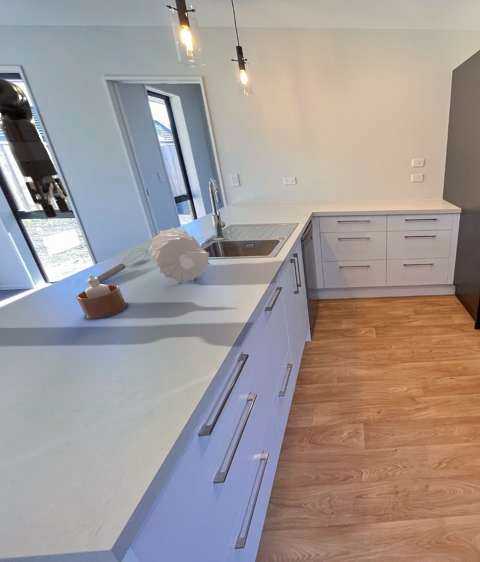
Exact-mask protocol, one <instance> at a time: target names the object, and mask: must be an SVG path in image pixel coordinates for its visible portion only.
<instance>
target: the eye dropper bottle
mask: <svg viewBox="0 0 480 562" xmlns="http://www.w3.org/2000/svg"><path fill="white" fill-rule="evenodd" d="M88 277H89V278H88V279H86V280H87V283H88V285H89V287H87V288H86V289H84V291H85V292H86V295H87V297H88V298H94V297H98V296H102V295H105V294H108V293H110V289H109V287H108V286H107V285H108V284H105V283H99V281H98V278H96V277H95V276H93V274H89V275H88Z"/></svg>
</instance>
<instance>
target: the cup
mask: <svg viewBox="0 0 480 562" xmlns="http://www.w3.org/2000/svg"><path fill="white" fill-rule="evenodd" d="M106 285H107V286H108V287H109V289H110V293H108V294H105V295H102V296H98V297H94V298H88V297H87V295H86V292H85V290H84V291H82V292H80V293H78V294H77V295H76V299H77V302H78V304H79V305H80V308H81V309H82V312H83V313H84V315H85V317H86V318H87V319H90V320H97V319H103V318H106V317H110V316H113V315H116V314H118V313H120V312H122V311H123V310H124V309H126V307H127V303H126V301H125V299H124V296H123V295H122V293H121V292H122V291H121V290H120V287H119V285H116V284H106Z"/></svg>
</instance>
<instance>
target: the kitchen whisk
mask: <svg viewBox="0 0 480 562" xmlns="http://www.w3.org/2000/svg"><path fill="white" fill-rule="evenodd" d="M138 252H143V253H141V254H139V255H138V256H136V259H138V258H140V257H141V256H143V255H145V256H144V257H143V258H142V259H141V260H140V261H137V262H134V263H132V264H129V263H131V262H133V261H134V258H132V259H131V260H129V258H128V257H133V256H134V255H135V254H136V253H138ZM148 254H149V251H148V250H145V249H144V247H141V248H139V247H137V248H135V249H133V250H132V251H131V253H129V254H128V256H126V257H125V258H124V260H123V261H122V262H121V263H119V264H116V265H115V266H113V267H111V268H110V269H108V270H106V271H105V272H103V273H101V274H100V275H98V276H96V277H95V278H98V281H99V283H100V284H103V283H104V282H105V281H107V280H109V279H110V278H112V277H113V276H115V275H117V274H119V273H120V272H122V271H124V270H125V269H126V268H131V267H133V266H135V265H136V266H138V265H141V264H143V263H145V262H146V261H148V260H149V259H150V257H152V254H149V255H148ZM147 255H148V257H147ZM128 260H129V261H128ZM142 261H143V262H142ZM128 264H129V265H128Z"/></svg>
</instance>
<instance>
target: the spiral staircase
mask: <svg viewBox="0 0 480 562" xmlns="http://www.w3.org/2000/svg"><path fill="white" fill-rule="evenodd" d="M150 240H151V241H152V243H151V246H150V248H149V249H148V252H151V257H152V258H153V260H154V262H156V267H157V268H158V269H159V272H160V273H161V274H163V275H164V276H165V278H167V279H168V278H171V279H173V280H175V281H177V282H179V283H181V282H182V281H194V280H195V279H196V278H198V277H200V276H202V275H205V271H206V270H207V268H208V267H209V266H210V265H211V262H209V259H210V252H208V251H206V249H202V244H200V243H199V241H197V239H195V238H194V236H193V235H190V234H189V233H188V232H187V231H186V230H185V229H182V230H180V229H177V228H175V227H171V228H170V229H167V230H166V229H165V230H159V233H158V234H157V235H156V236H154V237H152V238H151V239H150Z"/></svg>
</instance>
